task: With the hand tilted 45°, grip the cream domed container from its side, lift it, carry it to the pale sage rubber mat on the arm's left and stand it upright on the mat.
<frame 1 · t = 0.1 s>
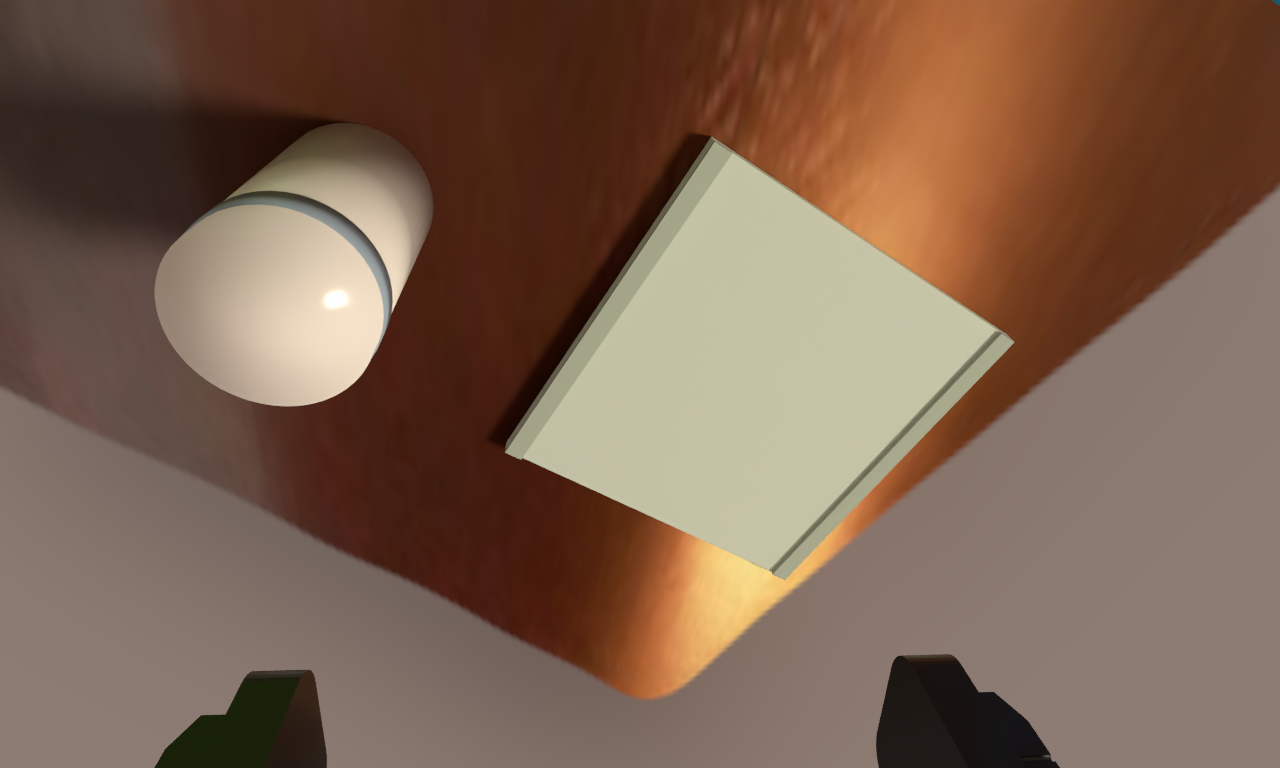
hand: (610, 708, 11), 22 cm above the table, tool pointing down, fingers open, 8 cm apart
cream domed container: (357, 199, 30), on the table
mat: (752, 388, 35), on the table
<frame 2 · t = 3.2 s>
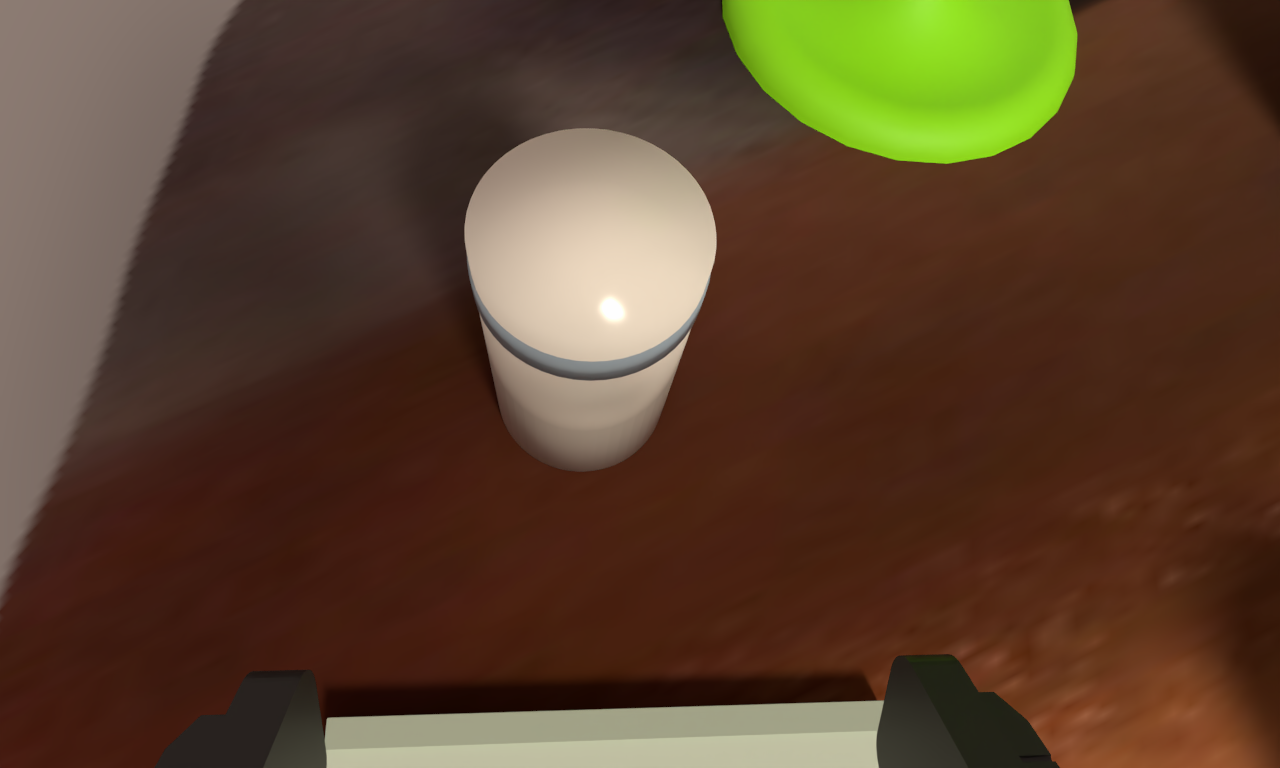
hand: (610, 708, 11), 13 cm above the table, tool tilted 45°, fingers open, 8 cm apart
cream domed container: (581, 391, 27), on the table
wineglass: (897, 17, 35), on the table
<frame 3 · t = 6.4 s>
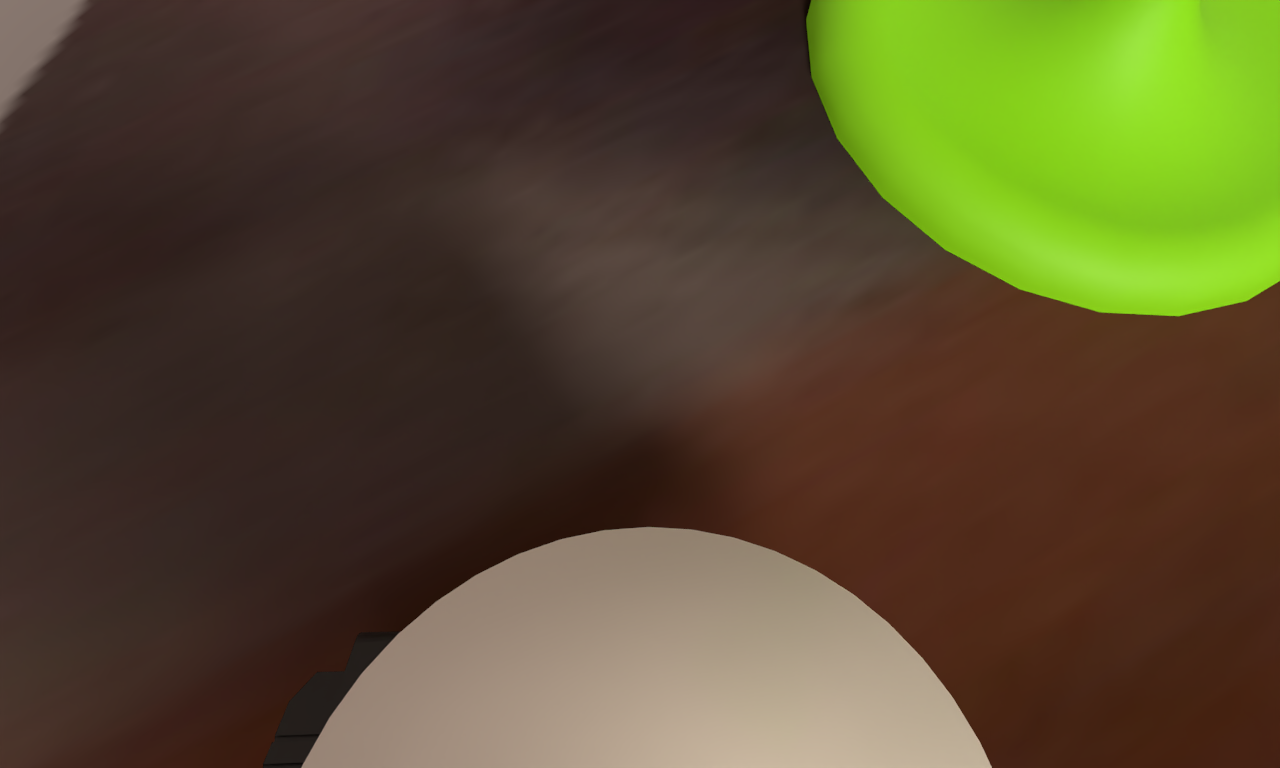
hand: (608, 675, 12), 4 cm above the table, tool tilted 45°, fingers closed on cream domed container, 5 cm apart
wineglass: (1072, 73, 23), on the table
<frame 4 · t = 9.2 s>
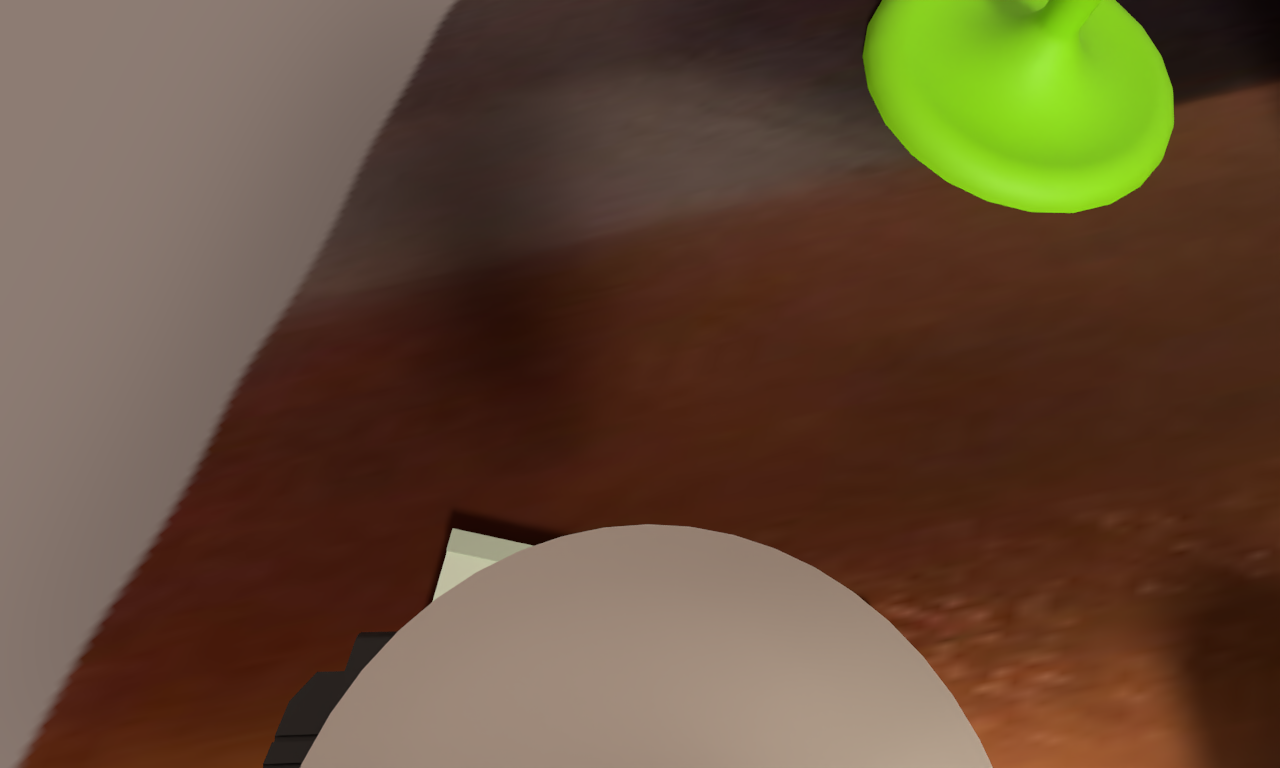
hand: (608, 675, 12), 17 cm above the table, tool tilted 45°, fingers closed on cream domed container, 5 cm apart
wineglass: (1015, 81, 40), on the table
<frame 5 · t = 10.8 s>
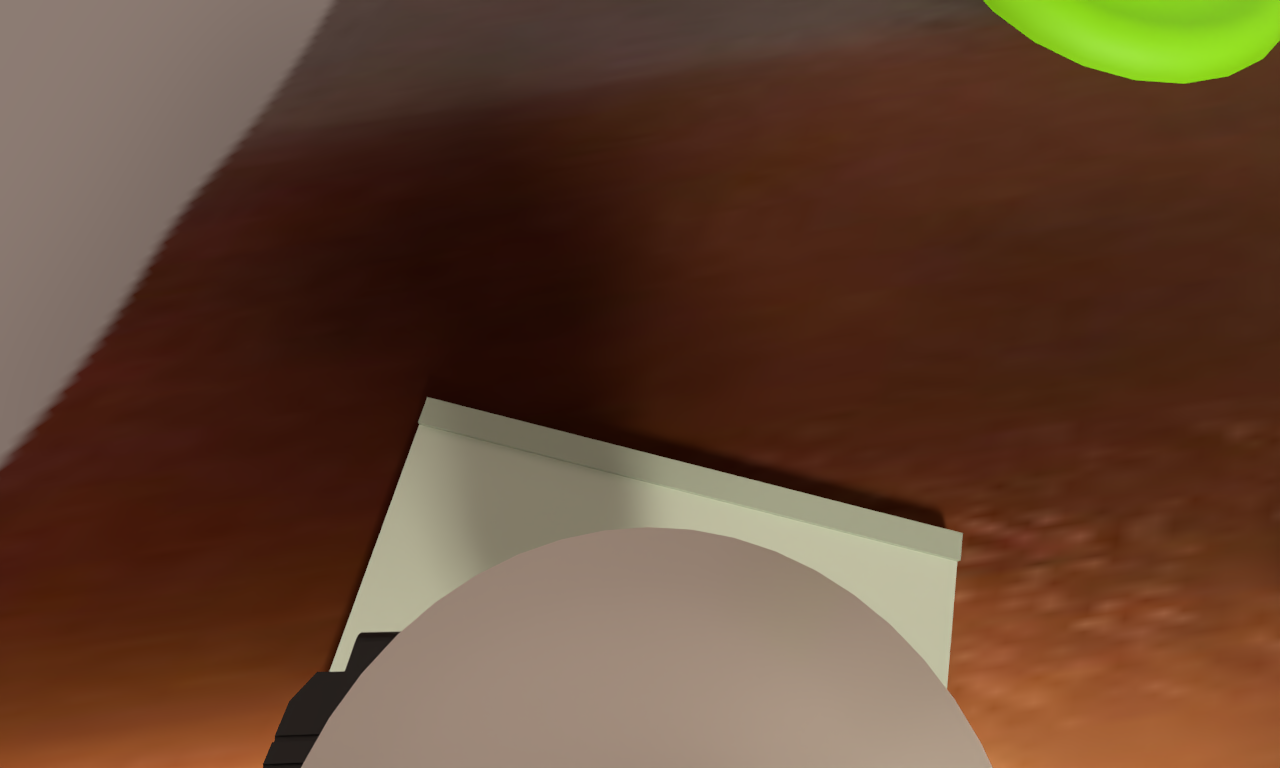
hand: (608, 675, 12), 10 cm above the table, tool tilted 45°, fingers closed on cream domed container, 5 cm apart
mat: (627, 760, 21), on the table
when the fingers open (6 cm above the table, at t = 12.1 s): cream domed container drops 1 cm, resting on mat.
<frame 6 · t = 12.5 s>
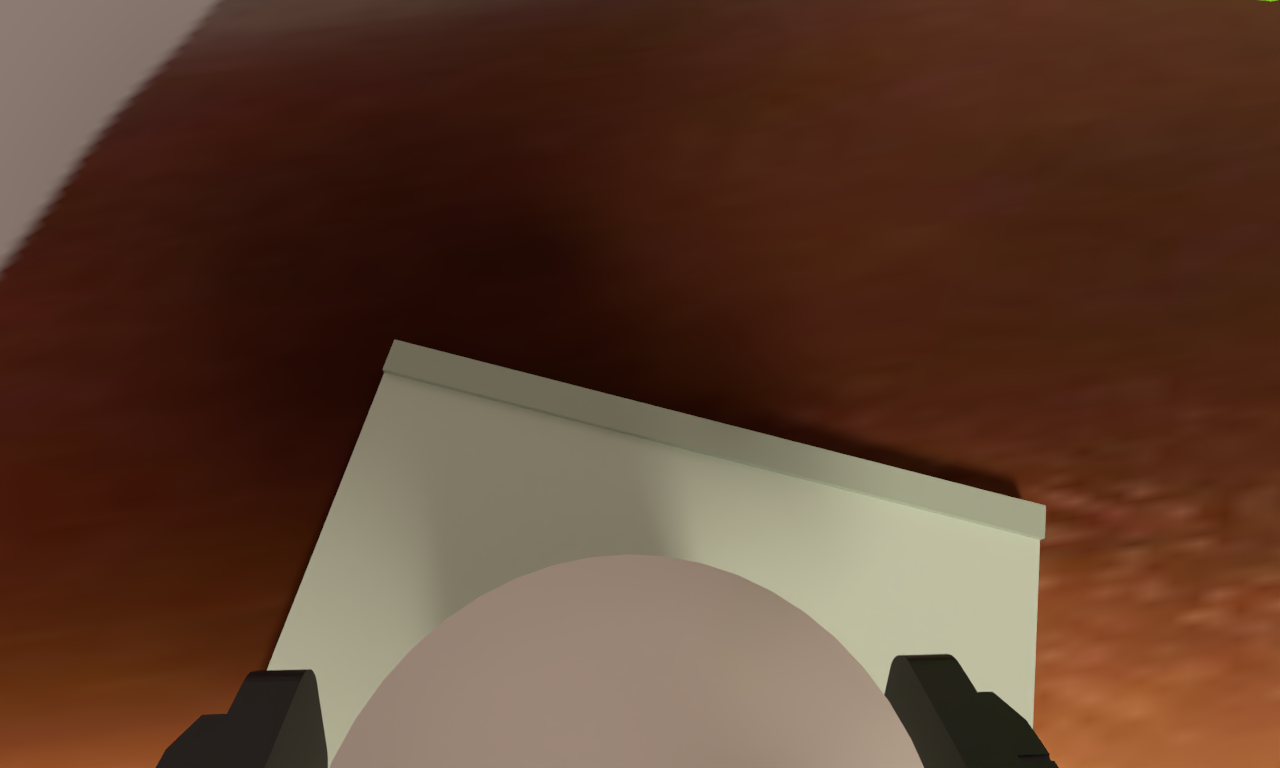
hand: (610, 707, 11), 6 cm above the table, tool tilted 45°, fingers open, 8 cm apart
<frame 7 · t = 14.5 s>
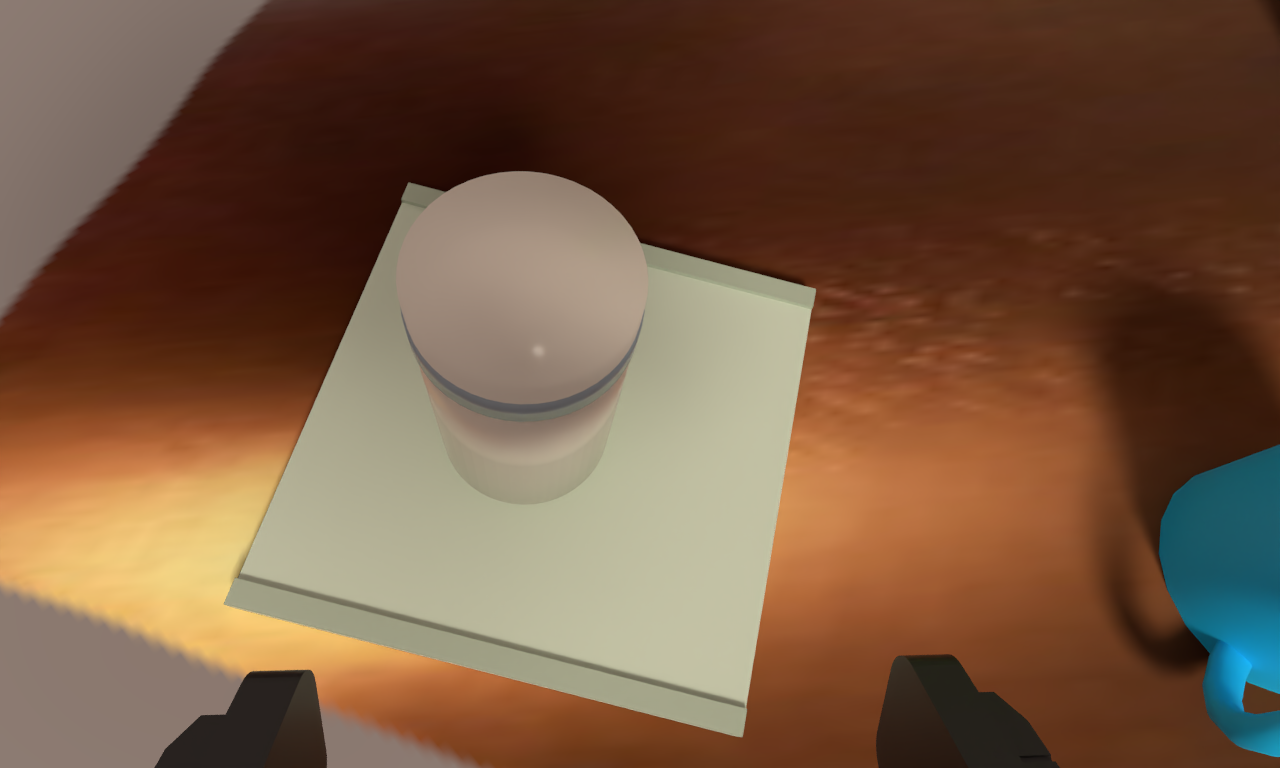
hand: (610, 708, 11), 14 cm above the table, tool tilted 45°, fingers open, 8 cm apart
mug: (1237, 614, 28), on the table
cream domed container: (526, 423, 27), point 1 cm above the table, touching mat
mat: (555, 435, 27), on the table
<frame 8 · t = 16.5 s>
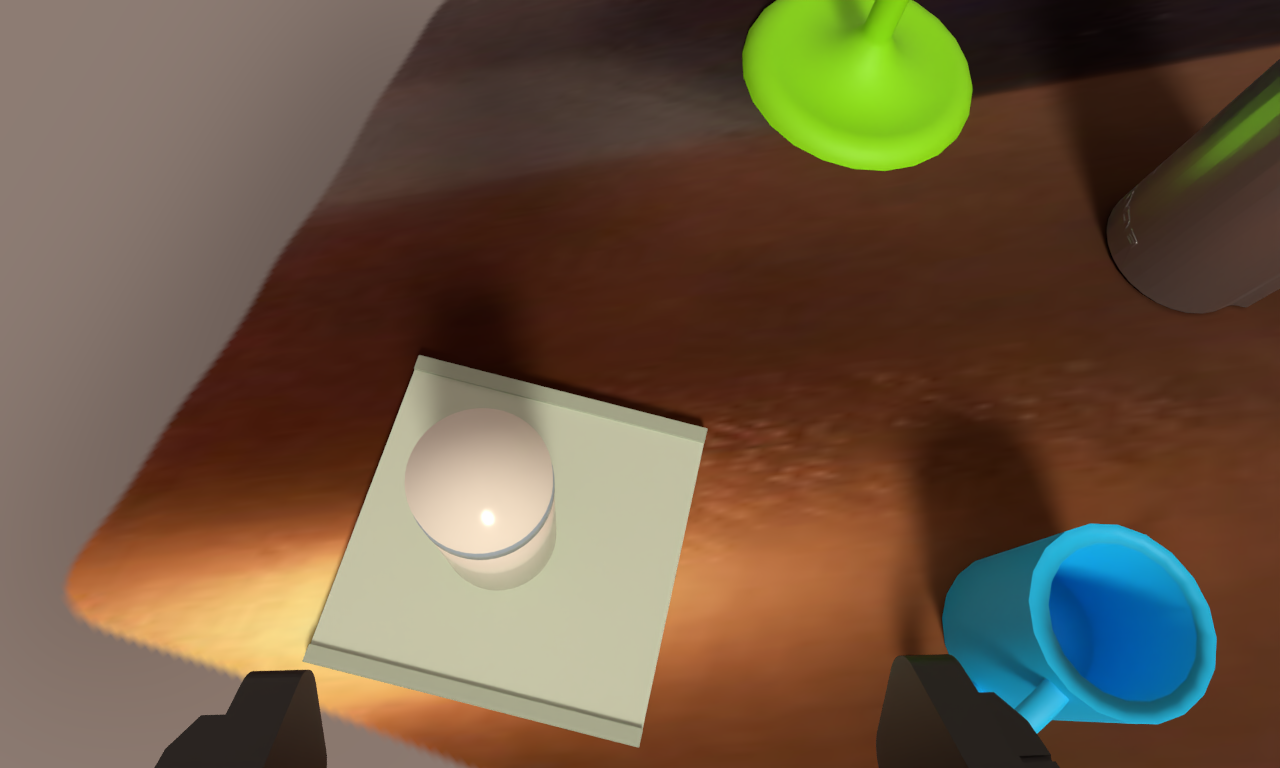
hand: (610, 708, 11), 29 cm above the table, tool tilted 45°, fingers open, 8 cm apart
mug: (995, 661, 40), on the table
cream domed container: (500, 533, 39), point 1 cm above the table, touching mat
mat: (521, 538, 40), on the table
wineglass: (856, 75, 54), on the table
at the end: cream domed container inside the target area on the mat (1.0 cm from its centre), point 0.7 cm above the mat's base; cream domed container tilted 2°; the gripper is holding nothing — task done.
